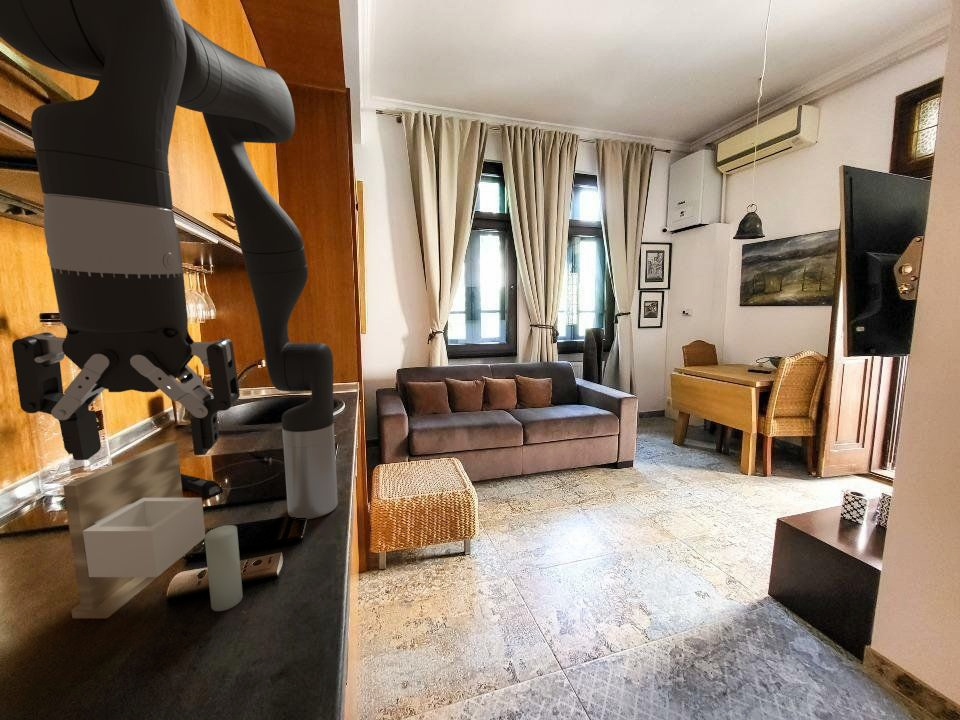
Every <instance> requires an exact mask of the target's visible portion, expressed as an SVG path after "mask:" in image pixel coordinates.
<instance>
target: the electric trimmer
mask: <svg viewBox="0 0 960 720" xmlns="http://www.w3.org/2000/svg"><path fill="white" fill-rule="evenodd" d="M180 474H181V483H182V491H192V492H194V493H198V494H201V495H202V496H203V497H202V498H204V499H211V497H212V498H214V497H216V495H217V496H218V494H219V495H221V494H223V492H224V490H223V487H222V486H221V485H220V484H219V483H218V482H216V481H215V480H209V479H205V478H202V477H201V478H200V477H196V476H192V475H186V474H183V473H180ZM220 493H221V494H220Z"/></svg>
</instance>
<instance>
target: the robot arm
mask: <svg viewBox="0 0 960 720" xmlns="http://www.w3.org/2000/svg"><path fill="white" fill-rule="evenodd" d="M0 39H2V40H3V41H4V42H5V43H6V44H8V45H9V46H10V47H11V48H13V49H14V50H15V51H17V52H18V53H21V55H23V56H25V57H27V59H30V60H31V61H33V62H35V63H38V64H40V65H41V66H44V67H46V68H48V69H51V70H54V71H58V72H61V73H64V74H67V75H73V76H77V77H80V78H85V79H88V80H93V81H97V82H98V84H97V85H96V88H95V89H94V91H93V92H92V93H91V94H90V95H89V96H86V97H84V98H82V99H78V100H77V99H76V100H71V101H63V102H52V103H47V104H45V103H44V104H43V105H39V106H37V107H36V108H35V109H34V110H33V112H32V113H31V116H30V117H31V118H30V129H31V136H32V142H33V146H34V154H35V159H36V164H37V165H36V166H37V170H38V175H39V180H40V186H41V191H42V193H43V195H42V198H43V230H44V231H43V232H44V239H45V243H46V252H47V256H48V259H49V260H48V261H49V265H50V266H49V267H50V270H51V275H52V281H53V286H54V292H55V297H56V302H57V308H58V309H57V310H58V313H59V319H60V322H61V324H62V325H63V326H64V327H65V328H66V336H65V337H60V336H58V337H57V336H56V335H54V334H53V333H51V332H47V331H46V332H42V333H41V332H40V333H36V334H31V335H27V336H24V337H21V338H18V339H15V340H13V342H12V343H11V348H12V355H13V363H14V368H15V377H16V382H17V383H16V384H17V390H18V397H19V406H20V409H22V411H24V412H25V413H28V414H36V413H39V412H40V413H43V414H48V415H51V416H52V417H53V418H54V419H56V420H57V421H58V422H59V426H60V432H61V437H62V442H63V447H64V451H66V452H67V453H68V455H72V458H73V460H74V461H87V460H89V459H91V458H92V457H94V456H95V455H96V454H97V453H99V451H100V450H101V447H102V442H101V438H100V437H101V436H100V431H99V425H98V419H97V415H96V410H94V409H93V410H90V409H89V408H90V406H91V405H92V404H93V403H94V402H95V401H96V399H97V398H98V397H99V396H100V395H101V394H102V393H103V391H104V390H105V391H106V390H108V393H124V392H127V391H136V392H140V393H155V392H157V391H159V390H160V391H161V392H162V393H164V394H165V396H167V397H168V398H169V399H170V400H171V401H174V402H178V403H179V404H180V405H181V406H183V407H184V408H185V409H186V410H187V411H188V412H189V413H190V414H191V415H192V417H190V426H191V427H190V428H191V438H192V449H193V454H194V456H205V455H206V454H207V453H208V452H209V451H210V450H211V449H212V448H213V447H214V446H215V445H216V443H218V439H219V437H220V433H219V432H220V431H219V422H218V421H219V419H218V412H220V411H223V412H224V411H228V410H229V409H230V408H231V407H232V406H233V405H234V404H235V403H236V402H237V401H238V399H239V398H240V397H241V396H240V395H241V394H240V388H239V387H240V386H239V379H238V373H237V365H236V359H235V352H234V344H233V342H232V340H231V339H229V338H228V337H223V338H220V339H218V340H216V341H194V339H193V338H192V337H191V335H190V333H189V332H190V331H189V329H188V327H189V321H188V320H189V319H188V310H187V309H188V308H187V307H188V306H187V297H186V289H185V280H184V279H185V278H184V270H183V258H182V250H181V249H182V248H181V241H180V235H179V232H178V229H177V224H176V220H175V216H174V215H175V214H174V211H173V198H172V196H173V195H172V189H171V179H170V172H169V171H170V169H169V168H170V167H169V158H168V157H169V150H170V142H171V136H172V133H173V126H174V121H175V114H176V110H177V106H178V107H180V108H183V109H186V110H190V111H194V112H199V113H202V117H203V120H204V123H205V126H206V128H207V131H208V136H209V138H210V141H211V144H212V147H213V149H214V153H215V156H216V158H217V162H218V165H219V168H220V172H221V174H222V177H223V180H224V183H225V187H226V192H227V194H228V198H229V199H228V200H229V201H230V206H231V209H232V215H233V219H234V222H235V227H236V231H237V237H238V241H239V246H240V250H241V254H242V258H243V263H244V265H245V269H246V273H247V276H248V280H249V283H250V287H251V290H252V294H253V299H254V303H255V305H256V310H257V314H258V319H259V325H260V331H261V336H262V345H263V350H264V357H265V363H266V364H265V365H266V368H267V369H266V370H267V373H268V377H269V379H270V382H271V384H272V386H273V387H274V388H275V389H276V390H278V391H280V392H310V391H311V396H310V399H309V400H308V401H307V402H305V403H302V404H300V405H297V406H294V407H292V408H289V409H288V410H287V409H286V411H285V412H283V413H282V416H281V428H282V429H281V430H282V442H283V456H284V457H283V458H284V460H283V461H284V472H285V487H286V488H285V489H286V502H287V504H286V505H287V514H288V516H289V517H290V518H293V517H296V518H306V519H305V520H311V519H315V518H319V517H322V516H325V515H328V514H329V513H331V512H333V511H334V510H335V509H336V508H337V506H338V503H339V501H338V482H337V480H338V479H337V462H336V461H337V460H336V459H337V457H336V442H335V439H336V438H335V421H334V407H335V406H334V358H333V357H334V356H333V353H332V350H331V347H330V346H329V345H328V344H327V343H324V342H293V343H292V342H291V341H290V339H289V332H288V331H289V330H288V327H289V325H288V324H289V320H290V317H291V314H292V312H293V310H294V308H295V306H296V303H297V302H298V300H299V299H300V296H301V295H302V293H303V291H304V288H305V287H306V284H307V281H308V278H309V267H308V263H307V257H306V256H307V255H306V252H305V244H304V239H303V236H302V234H301V231H300V230H299V228H298V226H297V225H296V224H295V222H294V221H293V219H291V217H290V216H289V215H288V213H287V212H286V211H285V210H284V209H283V208H282V207H281V205H280V204H279V203H278V202H277V201H276V199H275V198H274V197H273V196H272V195H271V194H270V192H269V190H267V189H266V187H265V185H264V184H263V183H262V181H261V179H259V176H258V175H257V174H256V173H257V172H256V171H255V169H254V167H253V165H252V162H251V159H250V157H249V155H248V151H247V149H246V146H245V143H249V144H250V143H253V144H255V143H256V144H257V143H258V144H282V143H285V142H287V141H290V140H291V138H292V137H293V135H294V133H295V127H296V118H295V117H296V116H295V110H294V109H295V108H294V104H293V103H294V102H293V100H292V95H291V93H290V91H289V88H288V86H287V83H286V82H285V80H284V79H283V77H282V75H280V74H279V73H278V72H277V71H276V70H274V69H272V68H268V67H265V66H262V65H258V64H256V63H253V62H251V61H249V60H248V59H245V58H243V57H240V56H239V55H237V54H235V53H233V52H231V51H229V50H227V48H224V47H222V46H221V45H219V44H217V43H216V42H214V41H212V40H211V39H210V38H208V37H206V36H205V35H204V34H203V33H201V32H200V31H198V29H196V28H195V27H193V26H192V24H190V23H188V22H187V21H186V20H185V19H183V18H182V17H181V14H180V11H179V9H178V6H177V5H176V3H175V1H174V0H0ZM65 356H66V357H67V358H68V359H69V360H70V361H71V362H72V363H73V364H74V365H75V366H77V368H79V369H80V371H79V372H78V374H77V375H76V376H75V378H74V379H73V380H72V381H71V382H70V384H69V385H68V386H67V387H66V388H65V390H64V387H63V377H62V367H61V361H63V360H64V358H65ZM194 356H195V357H197V358H198V359H199V360H200V362H201V364H202V365H203V366H204V367H206V368H208V369H209V370H208V371H209V376H210V381H211V382H210V383H211V387H212V392H211V390H209V388H208V387H206V386H205V385H204V383H203V380H202V378H201V376H199V374H197V373H196V372H195V371H194V370H193V369H192V368H191V367H190V366H189V365H188V364H189V362H190V361H191V360H192V359H193V358H194ZM296 518H295V519H296Z"/></svg>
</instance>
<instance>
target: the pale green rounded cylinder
mask: <svg viewBox="0 0 960 720" xmlns="http://www.w3.org/2000/svg"><path fill="white" fill-rule="evenodd" d="M204 544H205V546H204V547H205V554H206V555H205V556H206V564H207V566H206V567H207V576H208V577H207V578H208V585H209V586H208V587H209V596H210V607H211V610H213V611H214V612H222V611H223V612H224V611H227V610H229V609H231V608H234V607H235V606H237V605H238V604H239V603H240V602H241V601H242V599H243V597H244V595H243V584H242V583H243V582H242V571H241V560H240V549H239V548H240V547H239V537H238V527H237V525H233V524H230V525H229V524H228V525H221V526H218V527H215V528H213V529H211V530H209V531H208V532H207V533H205V538H204Z"/></svg>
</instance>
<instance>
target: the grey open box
mask: <svg viewBox="0 0 960 720" xmlns="http://www.w3.org/2000/svg"><path fill="white" fill-rule="evenodd" d="M202 498H203V497H183V498H142V499H140V500H138V501H136V502H134V503H133V504H128V505H126V506H124V507H122V508H120V509H119V510H117V511H115V512H113V513H111V514H109V515H108V516H106V517H104V518H102V519H100V520H98V521H97V522H95V523H94V525H93V526H91V527H89V528H87V529H86V530H84V531H83V537H84V544H85V551H86V558H87V565H88V573H89V577H157V578H159V576H161V575H162V574H164V572H166V571H167V570H168V569H169V568H170V567H172V566H173V565H174V564H175V563H176V562H178V561H179V560H180V559H181V558H182V557H184V556H185V555H186V554H187V553H189V552H190V551H191V550H192V549H193V548H194V546H195V547H196V546H197V545H199V543H201V542H202V541H203V540H205V535H206V529H205V518H204V517H205V515H204V507H203V506H204V505H203V499H202ZM189 550H190V551H189ZM188 551H189V552H188ZM183 555H184V556H183ZM177 560H178V561H177ZM172 564H173V565H172ZM171 565H172V566H171ZM166 569H167V570H166ZM160 574H161V575H160Z"/></svg>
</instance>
